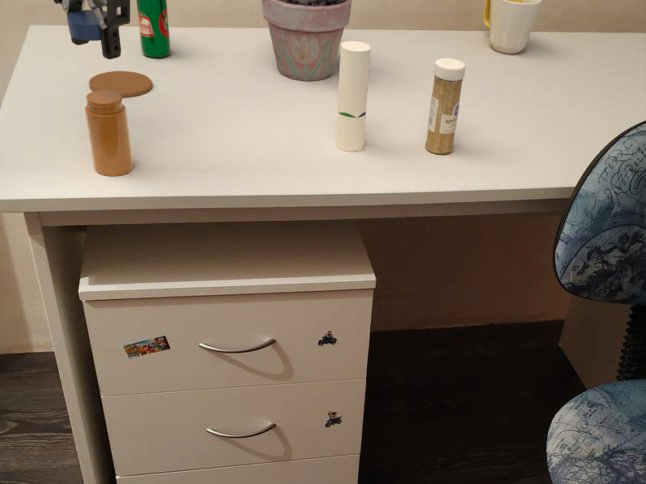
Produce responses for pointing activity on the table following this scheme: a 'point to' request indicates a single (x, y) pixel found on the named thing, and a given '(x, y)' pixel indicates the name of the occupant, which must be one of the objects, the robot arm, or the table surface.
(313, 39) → the potted plant
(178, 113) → the table surface
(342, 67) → the tube
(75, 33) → the jar lid
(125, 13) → the robot arm
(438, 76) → the sprinkles bottle
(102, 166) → the jar
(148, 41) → the soda can
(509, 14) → the mug
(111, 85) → the coaster
